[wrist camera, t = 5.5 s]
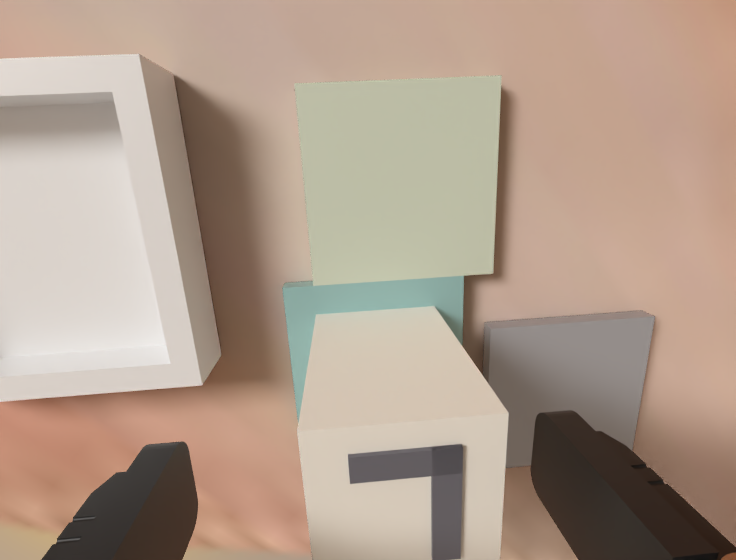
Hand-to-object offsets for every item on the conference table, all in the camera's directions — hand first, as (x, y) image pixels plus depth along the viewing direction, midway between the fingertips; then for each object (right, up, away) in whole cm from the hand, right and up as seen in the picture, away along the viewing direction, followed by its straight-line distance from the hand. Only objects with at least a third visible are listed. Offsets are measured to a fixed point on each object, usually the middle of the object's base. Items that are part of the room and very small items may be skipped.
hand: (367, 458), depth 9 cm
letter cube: (0, +1, +5) cm, 5 cm away
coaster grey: (+7, 0, +6) cm, 10 cm away
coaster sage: (+1, +7, +4) cm, 8 cm away
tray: (-10, +5, +3) cm, 12 cm away
